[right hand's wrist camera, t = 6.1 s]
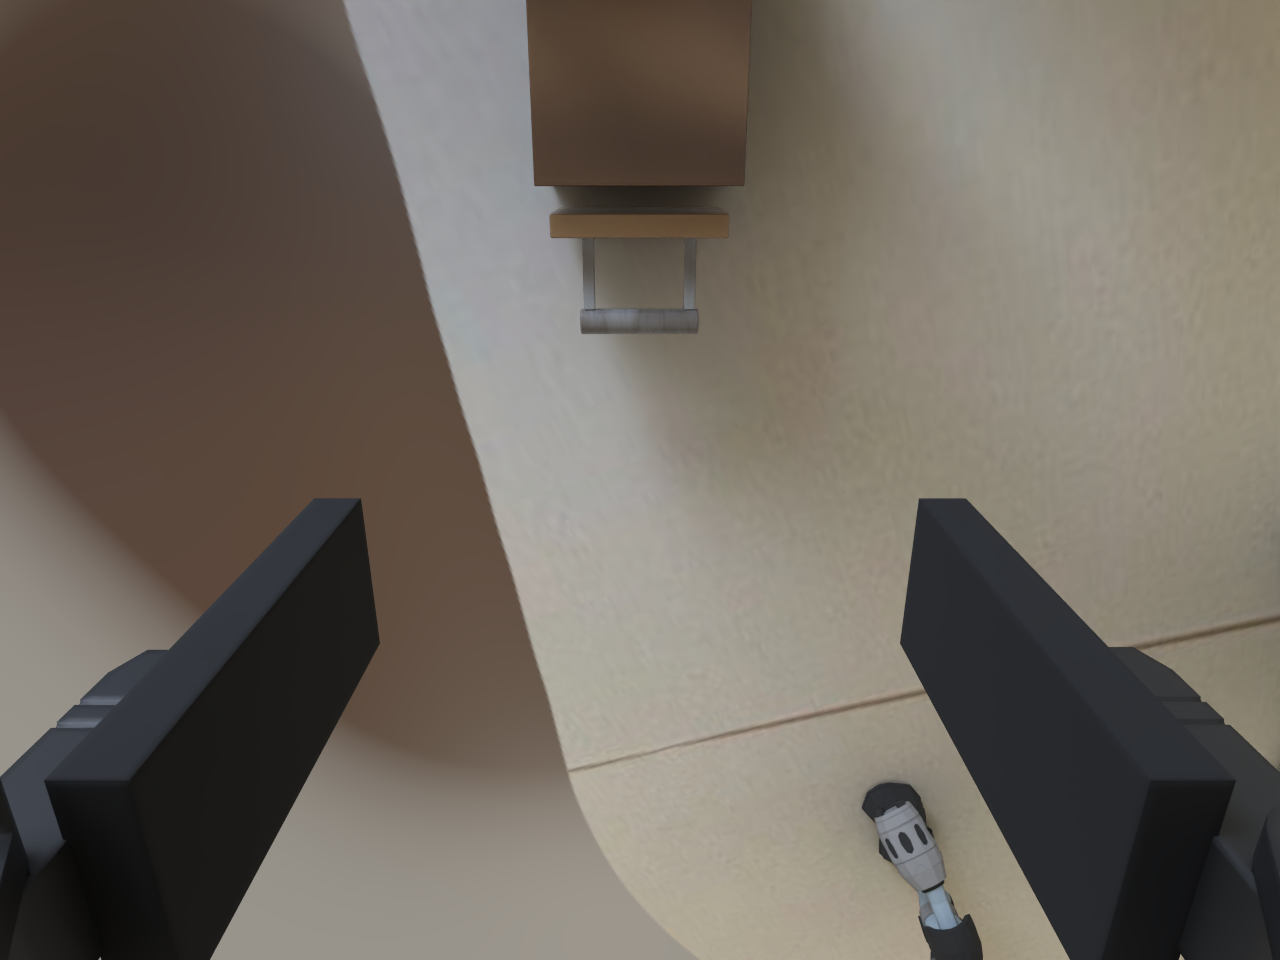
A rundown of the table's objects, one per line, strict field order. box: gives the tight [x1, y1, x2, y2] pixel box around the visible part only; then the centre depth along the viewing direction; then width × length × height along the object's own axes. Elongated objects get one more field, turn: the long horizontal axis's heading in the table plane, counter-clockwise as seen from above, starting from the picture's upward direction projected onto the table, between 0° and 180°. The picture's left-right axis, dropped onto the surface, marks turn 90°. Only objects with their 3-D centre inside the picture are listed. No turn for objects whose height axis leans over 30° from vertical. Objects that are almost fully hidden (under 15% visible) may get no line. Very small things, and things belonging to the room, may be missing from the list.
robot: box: [862, 783, 983, 960], centre depth 56 cm, size 20×5×20 cm, turn 22°
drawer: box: [550, 207, 729, 334], centre depth 44 cm, size 23×9×6 cm, turn 0°
